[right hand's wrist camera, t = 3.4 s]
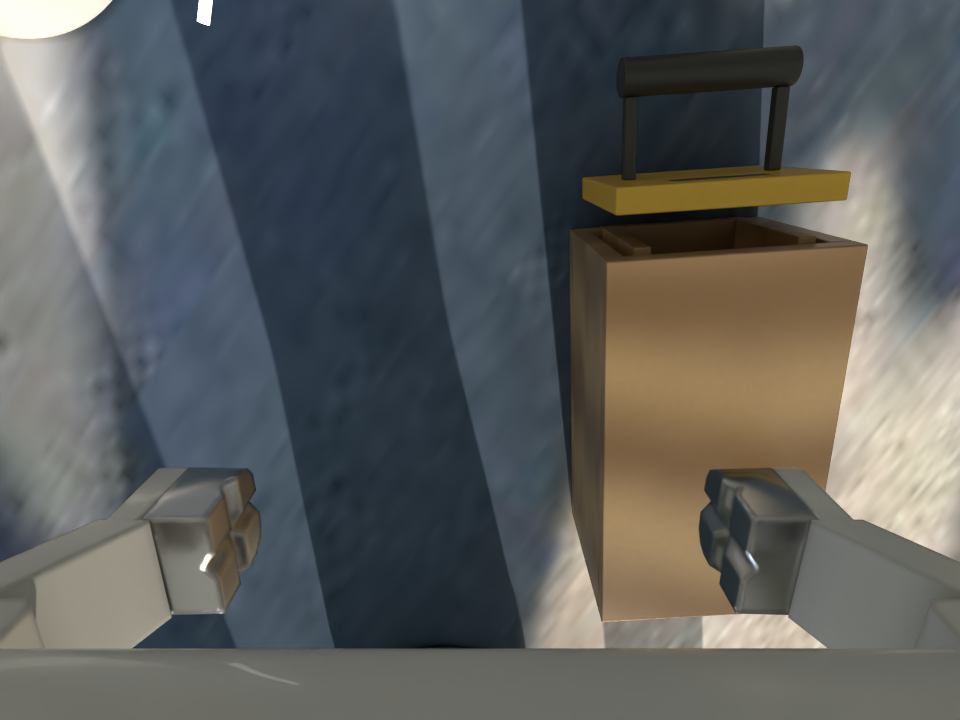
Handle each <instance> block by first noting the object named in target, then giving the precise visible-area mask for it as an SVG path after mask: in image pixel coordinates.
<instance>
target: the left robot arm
mask: <svg viewBox="0 0 960 720" xmlns="http://www.w3.org/2000/svg"><path fill="white" fill-rule="evenodd" d="M421 649H467V648H460V647H449V646H438V647H427V648H421Z"/></svg>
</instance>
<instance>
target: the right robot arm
mask: <svg viewBox="0 0 960 720" xmlns="http://www.w3.org/2000/svg"><path fill="white" fill-rule="evenodd" d="M111 1H112V0H0V35H1V36H5V37H12V38H21V39H38V38H47V37H53V36H57V35H61V34H64V33H67V32H70V31H72V30H74V29H77V28H79V27H81V26H82V25H84V24H86V23H88V22H89V21H90V20H92V19H93V18H95V17H96V16H97V15H98V14H99V13H101V12H102V11H103V10H104V9H105V8H106V7H107V6H108V5H109V4H110V2H111ZM212 1H213V0H199V8H198V17H197V21H198V22H200V23H203V24H205V25H209V26H210V18H211V10H212ZM255 491H256V487H255V482H254V477H253V474H252V472H251V471H250V470H249V469H247V468H196V467H194V468H191V467H166V468H160V469H158V470H157V471H156V472H155V473H154V474H153V475H152V476H151V477H150V478H149V479H148V480H146V481H145V482H144V483H143V484H142V485H141V486H140V487H139V488H138V489H137V490H136V491H135V492H134V493H133V494H132V495H131V496H130V497H129V498H128V499H127V500H126V501H125V502H124V503H123V504H122V505H121V506H120V507H119V508H118V509H117V510H116V511H115V512H114V513H113V514H112V515H111V516H110V517H109V518H108V519H107V520H96V521H93V522H91V523H89V524H86V525H84V526H82V527H80V528H77V529H75V530H73V531H70V532H68V533H66V534H64V535H61V536H59V537H57V538H54V539H52V540H50V541H48V542H45V543H43V544H41V545H38V546H36V547H34V548H32V549H29V550H27V551H25V552H22V553H20V554H18V555H16V556H13V557H11V558H9V559H6V560H4V561H2V562H0V720H960V562H958V561H956V560H953V559H951V558H949V557H946V556H944V555H942V554H940V553H937V552H935V551H933V550H931V549H928V548H926V547H924V546H921V545H919V544H917V543H915V542H912V541H910V540H908V539H905V538H903V537H901V536H899V535H896V534H894V533H892V532H890V531H887V530H885V529H883V528H880V527H878V526H876V525H874V524H871V523H869V522H867V521H865V520H853V519H852V518H851V517H850V516H849V515H848V514H847V513H846V512H845V511H844V510H843V509H842V508H841V507H840V506H839V505H838V504H837V503H836V502H835V501H834V500H833V499H832V498H831V497H830V496H829V495H828V494H827V493H826V492H825V491H824V490H823V489H822V488H821V487H820V486H819V485H818V484H817V483H816V482H815V481H814V480H813V479H812V478H811V477H810V476H809V475H808V474H807V473H806V472H805V471H804V470H803V469H800V468H797V467H777V468H739V469H712V470H709V472H708V475H707V477H706V481H705V487H704V491H705V493H706V494H707V496H708V497H709V499H710V502H709V503H708V504H707V505H706V507H705V508H704V509H703V510H702V511H701V512H700V520H699V538H700V545H701V548H702V552H703V555H704V557H705V559H706V561H707V563H708V564H709V566H711V567H712V568H714V569H715V570H717V571H718V572H720V573H721V576H720V582H719V585H720V586H721V588H722V590H723V592H724V593H725V595H726V597H727V599H728V601H729V602H730V604H731V606H732V608H733V610H734V611H735V613H740V614H777V615H789V616H788V617H789V618H790V619H791V620H793V621H794V622H795V623H796V624H798V625H799V626H800V627H801V628H803V629H804V630H805V631H807V632H808V633H809V634H810V635H812V636H813V637H814V638H816V639H817V640H818V641H819V642H821V643H822V644H823V645H825V646H826V647H827V648H828V649H156V648H133V647H134V646H136V645H137V644H138V643H139V642H141V641H142V640H143V639H145V638H146V637H147V636H148V635H150V634H151V633H152V632H154V631H155V630H156V629H157V628H159V627H160V626H161V625H163V624H164V623H165V622H166V621H168V620H169V619H170V618H171V617H172V616H171V615H183V614H218V613H225V611H226V610H227V608H228V606H229V604H230V602H231V601H232V599H233V597H234V595H235V594H236V592H237V590H238V588H239V586H240V585H241V582H240V576H239V573H240V572H242V571H243V570H245V569H246V568H248V567H249V566H251V564H252V562H253V561H254V559H255V557H256V555H257V552H258V548H259V544H260V539H261V519H260V512H259V511H258V510H257V509H256V508H255V507H254V505H253V504H252V503H251V502H250V499H251V497H252V496H253V494H254V493H255Z"/></svg>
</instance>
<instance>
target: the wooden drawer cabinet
mask: <svg viewBox="0 0 960 720" xmlns="http://www.w3.org/2000/svg"><path fill="white" fill-rule="evenodd" d="M747 218H750V219H754V220H758V221H762V222H765V223H769V224H773V225H777V226H780V227H784V228H788V229H791V230H795V231H799V232H803V233H806V234H810V235H814V236H816V242H815V244H801V245H786V246H771V247H756V248H741V249H726V250H711V251H696V252H681V253H666V254H651V255H636V256H622V255H621V254H620V253H618V252H617V251H616V250H614V249H613V248H612V247H610V246H609V245H608V244H606V243H605V242H603V241H602V240H601V239H600V227H596V228H581V229H570V337H571V445H572V514H573V517H574V520H575V525H576V528H577V532H578V536H579V539H580V543H581V547H582V550H583V554H584V558H585V562H586V565H587V569H588V573H589V576H590V580H591V584H592V587H593V591H594V595H595V598H596V602H597V606H598V610H599V613H600V617H601V621H602V622H613V621H630V620H646V619H663V618H680V617H697V616H713V615H730V614H740V613H735V611H734V610H733V608H732V606H731V604H730V602H729V601H728V599H727V597H726V595H725V593H724V592H723V590H722V588H721V586H720V585H719V582H720V576H721V573H720V572H718V571H717V570H715V569H714V568H712V567H711V566H709V564H708V563H707V561H706V559H705V557H704V555H703V552H702V548H701V545H700V538H699V520H700V512H701V511H702V510H703V509H704V508H705V507H706V505H707V504H708V503H709V502H710V499H709V497H708V496H707V494H706V493H705V491H704V487H705V481H706V477H707V475H708V472H709V470H712V469H739V468H777V467H797V468H800V469H803V470H804V471H805V472H806V473H807V474H808V475H809V476H810V477H811V478H812V479H813V480H814V481H815V482H816V483H817V484H818V485H819V486H820V487H821V488H822V489H823V490H824V491H825V490H826V484H827V478H828V472H829V467H830V461H831V455H832V449H833V444H834V438H835V432H836V426H837V421H838V415H839V409H840V403H841V398H842V392H843V386H844V380H845V375H846V369H847V363H848V357H849V351H850V346H851V340H852V334H853V328H854V323H855V317H856V311H857V305H858V300H859V294H860V288H861V282H862V277H863V271H864V265H865V259H866V254H867V248H868V245H867V244H863V243H859V242H855V241H851V240H848V239H844V238H840V237H836V236H832V235H828V234H824V233H820V232H816V231H812V230H808V229H804V228H800V227H796V226H793V225H789V224H785V223H781V222H777V221H773V220H769V219H765V218H761V217H747Z"/></svg>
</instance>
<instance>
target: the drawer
mask: <svg viewBox="0 0 960 720" xmlns="http://www.w3.org/2000/svg"><path fill="white" fill-rule="evenodd" d="M802 67H803V52H802V49H801V48H800V47H799V46H783V47H769V48H755V49H741V50H727V51H712V52H698V53H684V54H670V55H656V56H641V57H627V58H621V59H620V61H619V65H618V69H617V92H618V95H619V97H621V98H623V128H622V175H610V176H595V177H583V179H582V198H583V199H584V200H586V201H588V202H590V203H592V204H594V205H596V206H598V207H600V208H602V209H604V210H606V211H608V212H610V213H612V214H614V215H617V216H618V215H633V214H648V213H663V212H678V211H693V210H707V209H722V208H737V207H752V206H767V205H781V204H796V203H811V202H826V201H841V200H846V199H847V194H848V188H849V182H850V175H851V172H848V171H834V170H820V169H807V168H793V167H781V160H782V152H783V143H784V134H785V126H786V117H787V108H788V99H789V91H790V86H792V85H793V84H795V83H796V82H797V80H798V79H799V77H800V74H801V71H802ZM767 87H774V88H772V95H771V105H770V115H769V124H768V134H767V143H766V153H765V162H764V165H756V166H741V167H727V168H712V169H697V170H683V171H668V172H654V173H639V174H636V159H637V126H638V96H652V95H667V94H681V93H695V92H710V91H724V90H738V89H753V88H767ZM624 97H625V98H624ZM600 239H601V240H602V241H603V242H605V243H606V244H608V245H609V246H610V247H612V248H613V249H614V250H616V251H617V252H618V253H620V254H621V255H622V256H636V255H651V254H666V253H681V252H696V251H711V250H726V249H741V248H756V247H771V246H786V245H801V244H815V242H816V236H814V235H810V234H806V233H803V232H799V231H795V230H791V229H788V228H784V227H780V226H777V225H773V224H769V223H765V222H762V221H758V220H754V219H750V218H747V217H729V218H714V219H699V220H684V221H669V222H655V223H640V224H625V225H610V226H600Z"/></svg>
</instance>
